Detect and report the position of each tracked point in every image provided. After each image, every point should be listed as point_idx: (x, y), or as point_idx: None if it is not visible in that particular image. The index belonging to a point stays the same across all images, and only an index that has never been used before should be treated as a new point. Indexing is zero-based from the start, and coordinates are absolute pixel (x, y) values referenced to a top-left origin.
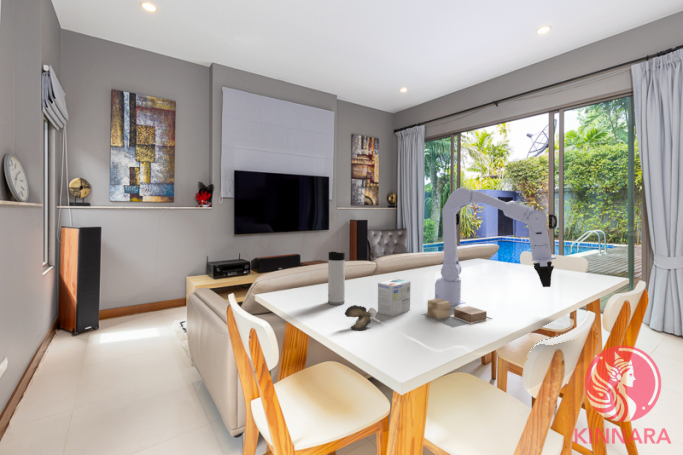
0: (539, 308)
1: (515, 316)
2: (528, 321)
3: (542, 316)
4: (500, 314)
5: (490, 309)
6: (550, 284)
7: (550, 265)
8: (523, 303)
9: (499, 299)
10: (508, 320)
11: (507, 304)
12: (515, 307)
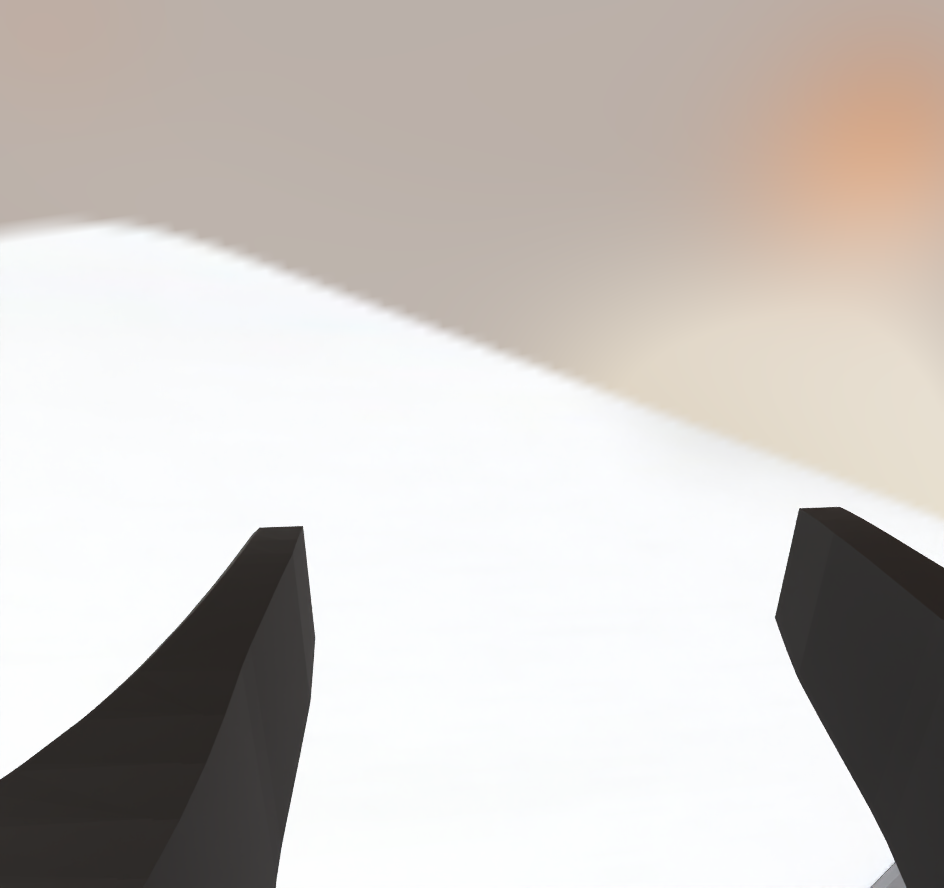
0: (184, 434)
1: (726, 655)
2: None
3: (578, 405)
4: (719, 778)
5: (572, 871)
6: (877, 528)
7: (171, 841)
8: (40, 614)
9: None
10: None
11: None
12: (325, 680)
